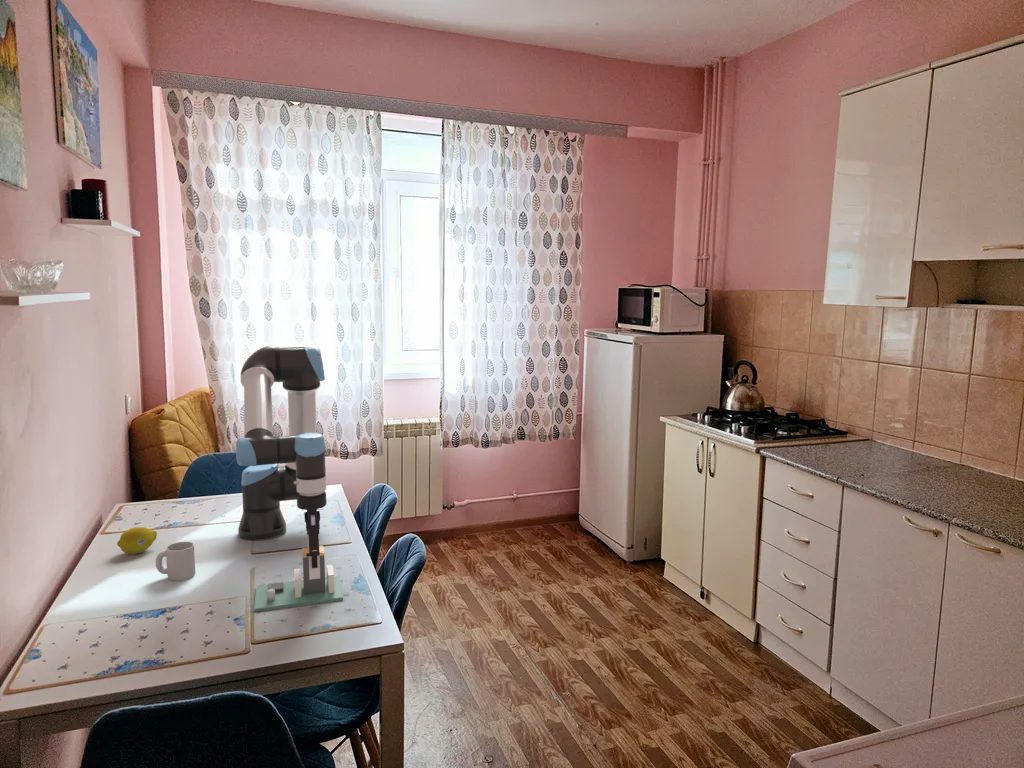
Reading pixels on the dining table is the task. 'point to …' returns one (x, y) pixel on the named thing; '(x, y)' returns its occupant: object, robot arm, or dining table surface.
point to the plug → (312, 584)
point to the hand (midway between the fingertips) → (313, 568)
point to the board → (296, 593)
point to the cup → (178, 561)
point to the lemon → (136, 540)
